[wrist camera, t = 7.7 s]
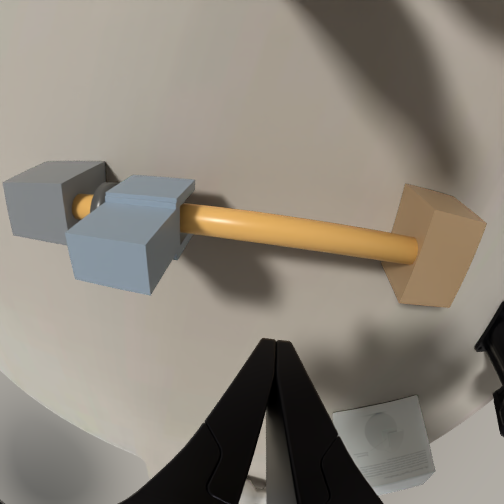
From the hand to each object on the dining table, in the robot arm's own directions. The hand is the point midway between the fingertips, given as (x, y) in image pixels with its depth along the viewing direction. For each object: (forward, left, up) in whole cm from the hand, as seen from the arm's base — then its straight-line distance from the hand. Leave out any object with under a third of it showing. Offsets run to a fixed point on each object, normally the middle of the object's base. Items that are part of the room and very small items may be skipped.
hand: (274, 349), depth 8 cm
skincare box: (-24, -16, -12) cm, 31 cm away
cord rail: (0, +3, -12) cm, 12 cm away
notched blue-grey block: (0, +7, -10) cm, 12 cm away
